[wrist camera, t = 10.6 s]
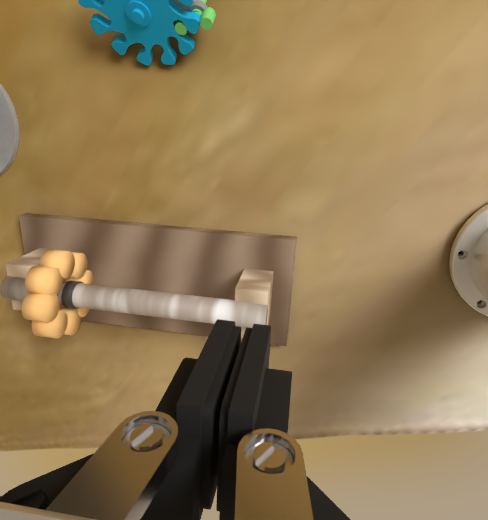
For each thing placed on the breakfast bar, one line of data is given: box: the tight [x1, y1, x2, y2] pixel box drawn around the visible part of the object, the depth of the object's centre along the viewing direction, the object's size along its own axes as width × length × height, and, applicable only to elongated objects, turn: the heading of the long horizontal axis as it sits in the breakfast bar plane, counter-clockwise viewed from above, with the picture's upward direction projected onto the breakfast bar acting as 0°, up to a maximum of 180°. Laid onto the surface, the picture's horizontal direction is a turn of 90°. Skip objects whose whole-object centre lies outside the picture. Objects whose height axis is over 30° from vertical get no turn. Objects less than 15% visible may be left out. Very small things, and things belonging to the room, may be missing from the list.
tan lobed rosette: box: [22, 249, 93, 338], centre depth 39 cm, size 2×9×9 cm, turn 177°
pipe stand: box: [1, 213, 297, 346], centre depth 41 cm, size 30×12×8 cm, turn 87°
